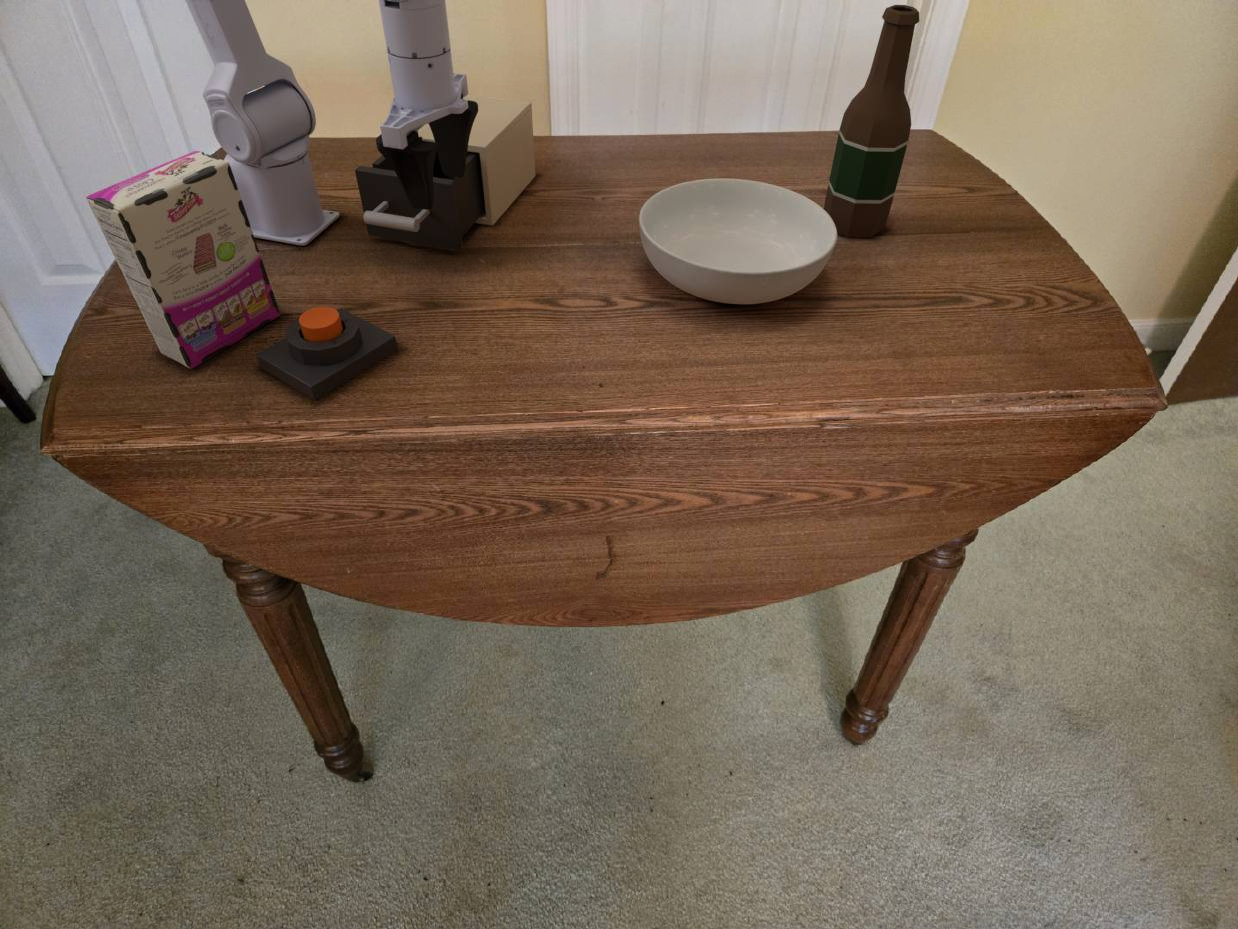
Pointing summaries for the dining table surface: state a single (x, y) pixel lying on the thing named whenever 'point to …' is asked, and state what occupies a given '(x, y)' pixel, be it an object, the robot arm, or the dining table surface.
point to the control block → (327, 356)
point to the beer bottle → (874, 135)
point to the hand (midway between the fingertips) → (438, 190)
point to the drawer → (435, 227)
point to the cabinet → (500, 150)
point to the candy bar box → (188, 255)
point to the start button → (320, 324)
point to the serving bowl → (736, 239)
